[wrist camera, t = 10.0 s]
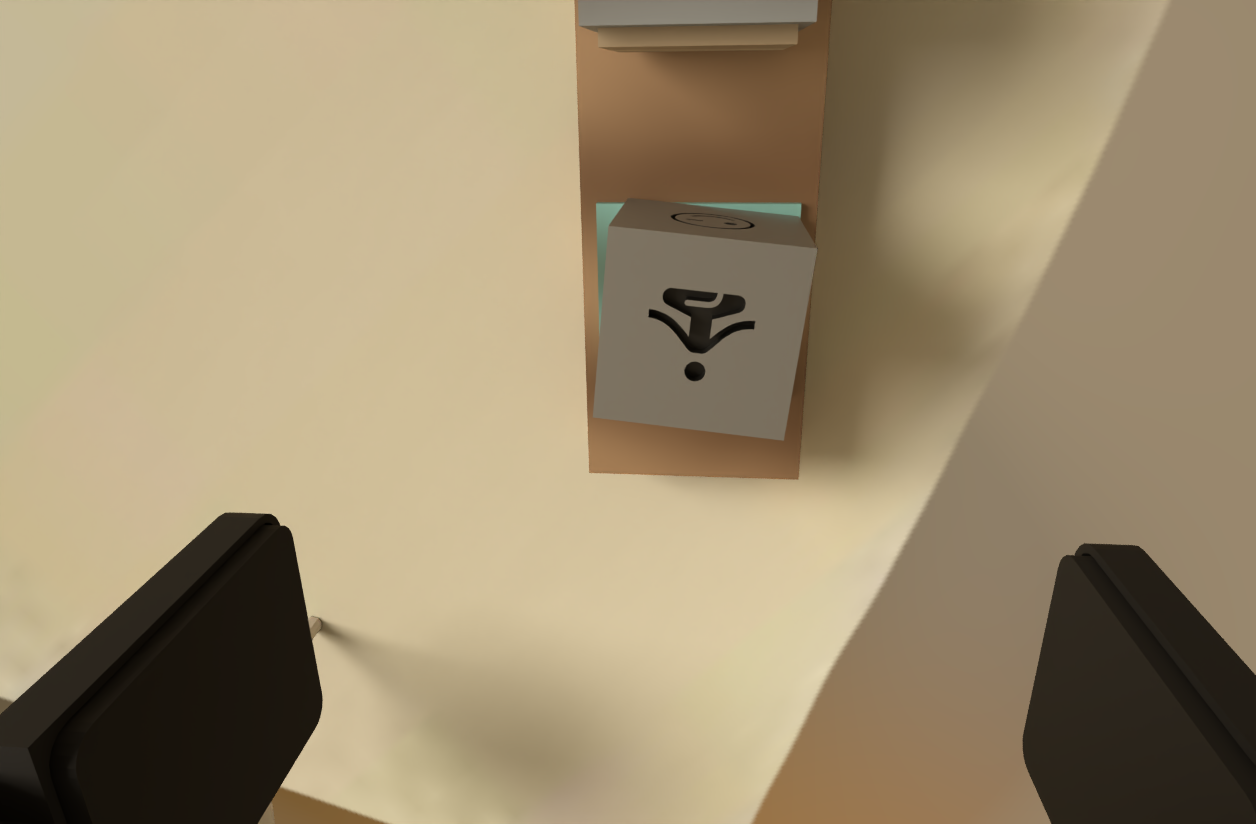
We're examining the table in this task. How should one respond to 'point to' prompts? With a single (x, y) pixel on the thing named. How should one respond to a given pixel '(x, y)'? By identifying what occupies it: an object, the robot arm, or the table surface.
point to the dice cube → (702, 317)
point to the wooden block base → (696, 170)
